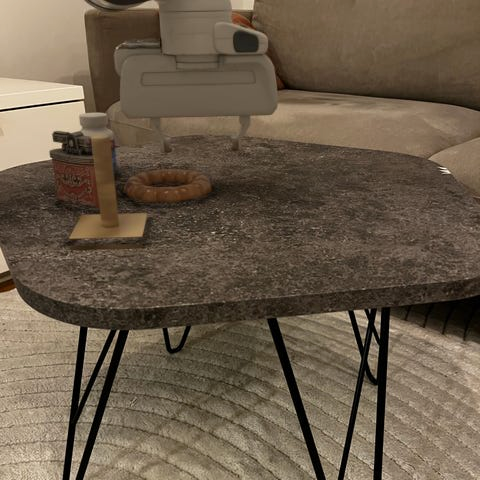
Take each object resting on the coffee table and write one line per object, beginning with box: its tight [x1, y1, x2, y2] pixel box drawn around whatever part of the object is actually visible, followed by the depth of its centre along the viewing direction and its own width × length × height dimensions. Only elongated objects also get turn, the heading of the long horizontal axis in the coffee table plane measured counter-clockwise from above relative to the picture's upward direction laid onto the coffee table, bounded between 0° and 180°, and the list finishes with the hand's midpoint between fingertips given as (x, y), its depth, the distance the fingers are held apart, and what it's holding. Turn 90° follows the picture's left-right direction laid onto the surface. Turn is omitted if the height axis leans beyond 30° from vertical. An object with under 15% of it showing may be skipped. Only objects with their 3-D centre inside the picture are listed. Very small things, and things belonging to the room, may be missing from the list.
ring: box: [122, 168, 212, 203], centre depth 82 cm, size 12×12×3 cm
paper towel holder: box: [68, 134, 148, 251], centre depth 66 cm, size 8×8×12 cm
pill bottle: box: [78, 112, 118, 175], centre depth 88 cm, size 6×5×10 cm
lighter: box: [48, 130, 99, 207], centre depth 76 cm, size 8×3×10 cm, turn 59°
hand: (201, 151), depth 80 cm, fingers open, 8 cm apart
